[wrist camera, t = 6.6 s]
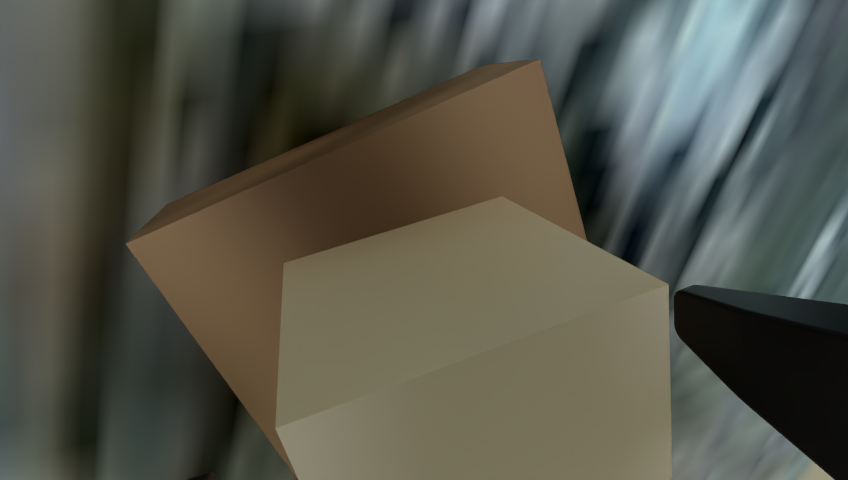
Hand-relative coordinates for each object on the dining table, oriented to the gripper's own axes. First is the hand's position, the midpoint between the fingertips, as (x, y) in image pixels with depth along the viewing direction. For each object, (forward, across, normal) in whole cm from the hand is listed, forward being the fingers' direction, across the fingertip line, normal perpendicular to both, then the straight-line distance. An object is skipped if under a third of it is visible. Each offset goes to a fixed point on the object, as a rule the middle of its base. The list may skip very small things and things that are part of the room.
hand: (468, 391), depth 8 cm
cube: (+3, 0, 0) cm, 3 cm away
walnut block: (+6, 0, 0) cm, 6 cm away
